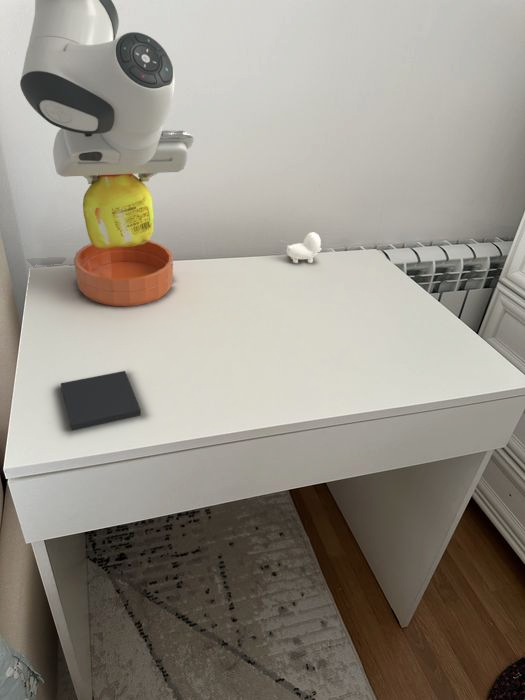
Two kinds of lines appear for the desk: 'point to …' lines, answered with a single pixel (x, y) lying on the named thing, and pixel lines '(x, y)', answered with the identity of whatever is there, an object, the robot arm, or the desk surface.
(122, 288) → the bowl
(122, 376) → the mat
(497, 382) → the desk surface
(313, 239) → the toy creature
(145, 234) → the bottle
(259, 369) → the desk surface
